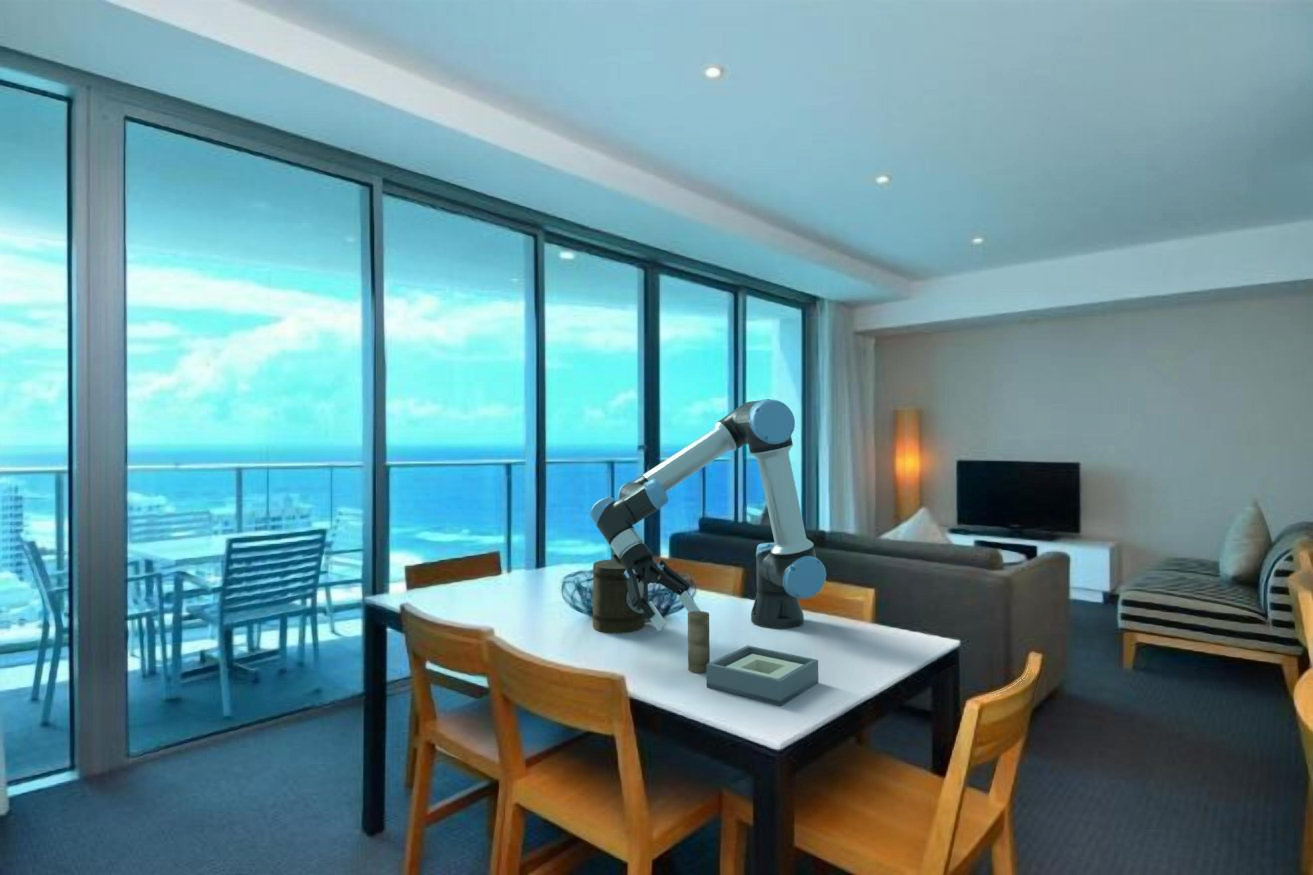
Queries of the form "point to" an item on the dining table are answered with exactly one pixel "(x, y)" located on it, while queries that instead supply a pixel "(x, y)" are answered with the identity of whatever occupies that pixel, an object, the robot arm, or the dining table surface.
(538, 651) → the dining table surface
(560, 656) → the dining table surface
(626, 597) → the wooden container
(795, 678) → the tray
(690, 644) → the peg
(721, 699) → the dining table surface
